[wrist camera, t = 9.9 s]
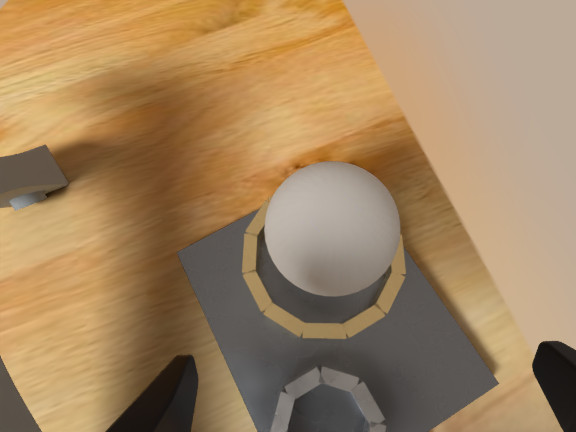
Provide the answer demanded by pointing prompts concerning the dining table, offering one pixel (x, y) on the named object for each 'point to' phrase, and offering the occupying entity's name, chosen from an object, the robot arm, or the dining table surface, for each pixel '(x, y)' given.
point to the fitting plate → (332, 341)
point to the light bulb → (332, 228)
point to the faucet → (18, 193)
